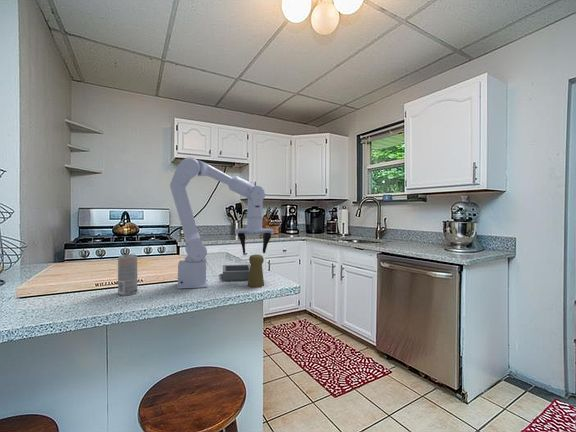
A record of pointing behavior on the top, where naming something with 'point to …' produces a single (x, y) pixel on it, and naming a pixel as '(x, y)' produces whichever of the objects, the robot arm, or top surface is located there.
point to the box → (235, 272)
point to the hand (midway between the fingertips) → (254, 252)
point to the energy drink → (127, 274)
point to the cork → (256, 271)
